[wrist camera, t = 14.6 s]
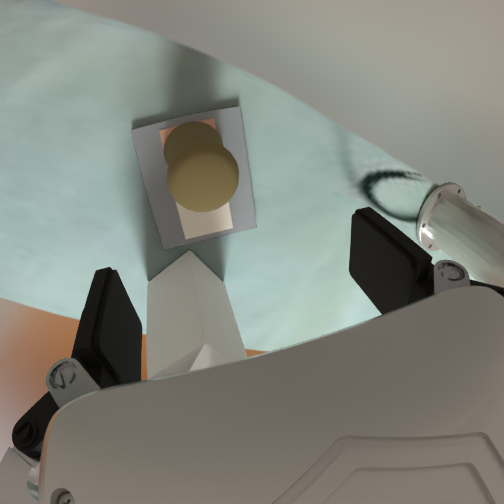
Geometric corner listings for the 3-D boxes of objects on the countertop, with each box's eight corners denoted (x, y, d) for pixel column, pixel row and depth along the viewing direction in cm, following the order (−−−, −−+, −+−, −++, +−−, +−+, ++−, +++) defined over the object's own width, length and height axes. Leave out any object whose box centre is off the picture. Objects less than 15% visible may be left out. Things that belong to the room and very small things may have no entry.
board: (237, 105, 28) (240, 106, 27) (254, 223, 36) (257, 228, 35) (132, 129, 27) (130, 130, 26) (164, 245, 34) (164, 251, 33)
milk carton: (184, 311, 40) (205, 438, 25) (147, 281, 36) (148, 417, 21) (224, 282, 39) (265, 409, 24) (189, 248, 35) (213, 382, 20)
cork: (179, 188, 30) (184, 238, 21) (153, 137, 27) (144, 165, 18) (232, 163, 30) (262, 202, 21) (209, 111, 27) (230, 124, 18)
